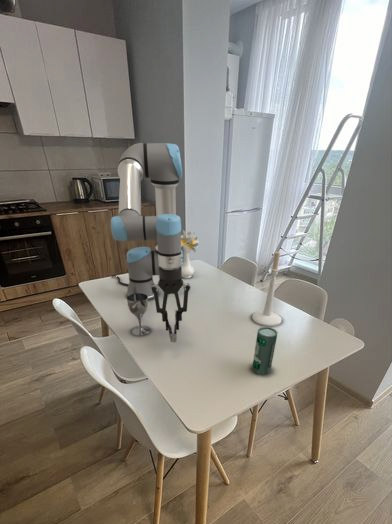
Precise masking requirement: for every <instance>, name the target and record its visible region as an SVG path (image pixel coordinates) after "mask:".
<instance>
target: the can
mask: <svg viewBox="0 0 392 524" xmlns="http://www.w3.org/2000/svg"><path fill="white" fill-rule="evenodd" d="M278 333H279V331H277V329H275V328H272V327H271V326H262V327H261V326H260V327H259V328H258V329H257V333H256V339H255V345H254V346H255V347H254V354H253V361H252V366H251V367H252V368H251V370H252V372H254V373H255V374H257V375H260V376H264V375H265V376H266V375H269V374H271V370H272V365H273V359H274V355H275V349H276V343H277V339H278Z"/></svg>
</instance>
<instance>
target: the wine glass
mask: <svg viewBox="0 0 392 524" xmlns="http://www.w3.org/2000/svg"><path fill="white" fill-rule="evenodd" d="M126 303H127V307H128V310H129V311H130V313H131V314H132V315H133V316H134V317H136V319H137V321H138V325H139V326H137V327H134V328H133V329H131V330H132V331H131V333H132V334H133V335H135V336H144V335H145V336H146V335H148V334H149V333H150V331H151V330H150V329H149V328H148V327H146V326H142V318H143V317H144V315H145V314H146V313H147V311H148V308H149V300H148V296H147V295H145V294H141V293H136V294H131V295H129V296H127V297H126Z"/></svg>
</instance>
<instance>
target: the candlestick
mask: <svg viewBox="0 0 392 524" xmlns="http://www.w3.org/2000/svg"><path fill="white" fill-rule="evenodd" d="M280 255H281V252H280V251H275V252H274V256H273V263H272V267H270V274H271V277H270V281H269V286H268V291H267V295H266V299H265V304H264V308H263V310H258V311H256V312H254V313H253V314H252V317H251V319H252V321H253V322H254V323H256V324H257V325H261V326H263V327H275V326H278V325H280V324H281V323H282V317H281V315H279V314H278V313H276V312H274V311H273V307H274V298H275V290H276V289H275V288H276V280H277V277H276V276H277V274H278V273H279V271H280V268H279V262H280Z"/></svg>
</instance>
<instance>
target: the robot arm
mask: <svg viewBox="0 0 392 524" xmlns="http://www.w3.org/2000/svg"><path fill="white" fill-rule="evenodd" d="M117 176H118V178H119V193H118V195H119V196H118V214H117V215H115V216H112V217H111V218H110V230H111V235H112V237H113V239H114V240H115V241H118V242H119V241H121V242H123V241H124V242H135V241H137V242H139V241H156V243H157V244H156V245H155V246H154V250H152V249H151V247H150V246H138V247H137V246H136V247H134V248H131V249H129V250H128V251H127V253H126V263H127V273H128V280H129V281H128V283H125V282H122V281H121V278H120V277H119V276H118V275H116V274H111V276H110V278H113V277H115V278H116V279H117V280H118V281H117V282H118V283H119V284H120V285H124V286H127V290H126V294H127V297H128V296H129V295H131V294H136V293H141V294H145V295H147V296H148V301H150V300H153V299H154V304H155V309H156V310H155V311H156V313H157V314H161V321H162V322H163V323H165V331H168V321H169V317H168V318H167V314H168V311H166V310H167V303H168V297H169V295H174V299H175V304H176V307H177V310H178V311H176V320H175V321H177V331H179V330H180V322H182V321H183V313H186V312H187V311H188V301H189V292H190V290H191V284H190V283H189V282H187V283H185V282H184V280H183V277H182V264H183V260H184V250H182V247H181V235H182V220H181V219H182V218H181V217H180V216H179V215H177V205H176V204H177V201H176V198H177V197H176V188H177V186H178V185H179V184H180V179H182V178H183V166H182V159H181V152H180V148H179V146H178V145H177V144H175V143H167V142H152V143H151V142H148V143H147V142H138V143H135V144H132V145H131V146H129V147H128V148H127V149H126V150H125V151H124V152H123V153H122V154H121V155H120V158H119V160H118V162H117ZM143 178H144V179H150V184H151V185H152V186H153V187H154V197H155V213H156V215H146V216H145V215H142V183H141V182H142V181H143ZM116 276H117V277H116ZM154 276H158V282H157V283H155V281H154V279H153V277H154ZM159 288H160V289H161V290H162V292H163V296H162V297H163V298H162V304H161V306H160V298H159ZM181 289H182V290H183V300H182V301H183V302H182V305H181V300H180V296H179V295H180V294H179V291H181Z"/></svg>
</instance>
